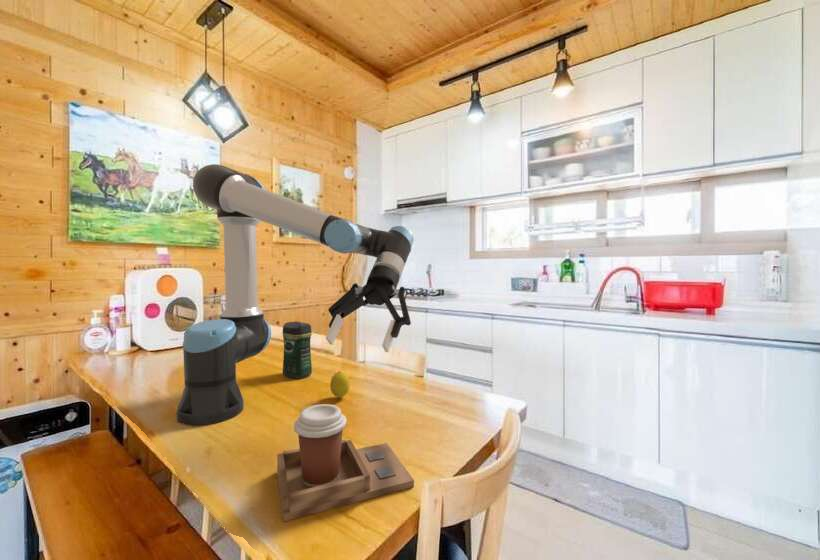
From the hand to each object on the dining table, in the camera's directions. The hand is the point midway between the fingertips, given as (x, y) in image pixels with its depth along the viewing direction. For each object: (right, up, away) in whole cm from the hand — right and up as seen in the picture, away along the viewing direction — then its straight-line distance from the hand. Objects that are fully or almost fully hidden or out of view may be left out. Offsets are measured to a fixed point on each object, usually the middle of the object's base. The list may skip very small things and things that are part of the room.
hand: (356, 345), depth 77 cm
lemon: (-9, -20, +26) cm, 34 cm away
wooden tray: (-1, -22, -12) cm, 25 cm away
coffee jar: (-27, -19, +46) cm, 57 cm away
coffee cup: (-4, -21, -14) cm, 26 cm away
